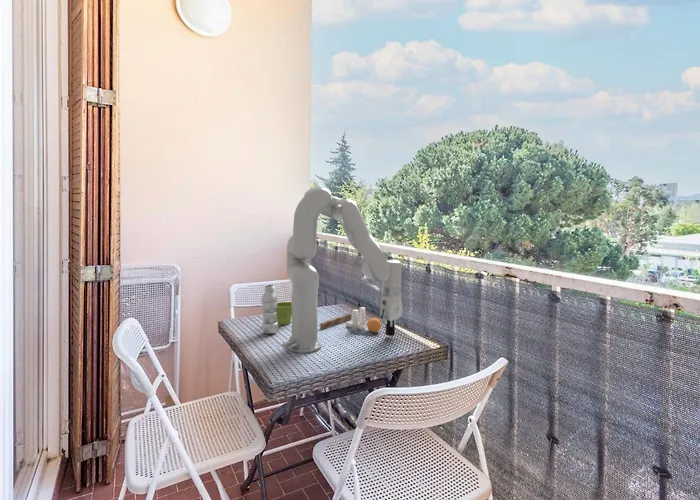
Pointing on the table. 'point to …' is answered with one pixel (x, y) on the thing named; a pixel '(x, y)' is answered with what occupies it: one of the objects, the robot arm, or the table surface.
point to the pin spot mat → (360, 332)
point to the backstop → (335, 321)
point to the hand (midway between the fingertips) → (390, 334)
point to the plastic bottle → (269, 310)
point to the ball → (374, 325)
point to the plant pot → (284, 313)
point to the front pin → (360, 327)
